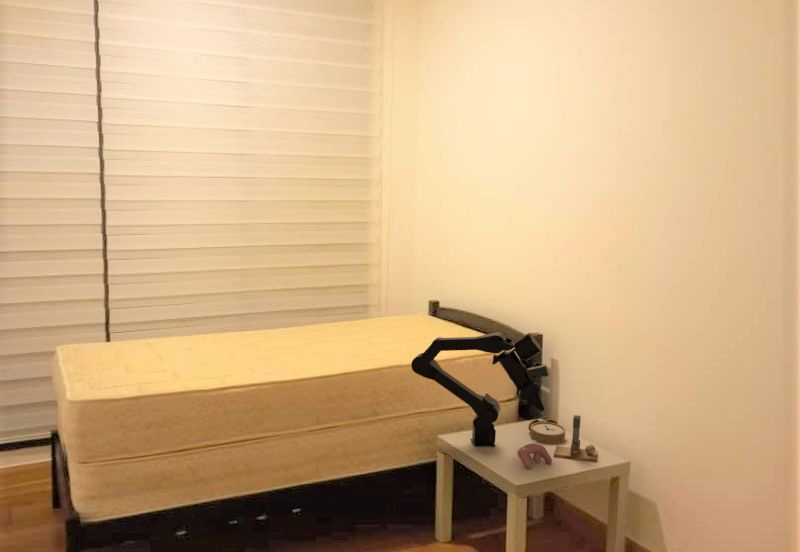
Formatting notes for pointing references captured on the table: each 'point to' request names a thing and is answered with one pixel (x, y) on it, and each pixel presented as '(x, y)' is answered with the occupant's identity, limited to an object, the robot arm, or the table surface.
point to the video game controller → (538, 453)
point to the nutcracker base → (576, 452)
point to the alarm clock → (546, 431)
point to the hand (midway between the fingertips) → (543, 410)
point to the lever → (576, 429)
